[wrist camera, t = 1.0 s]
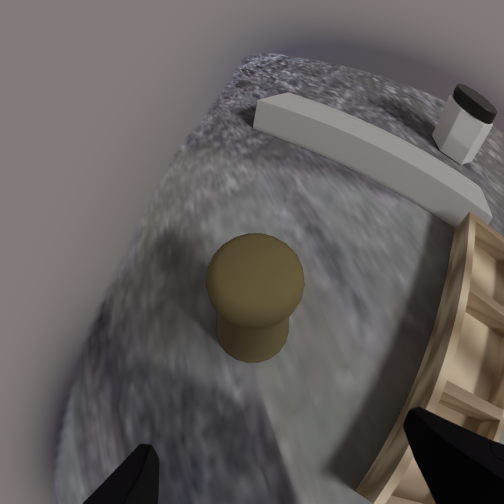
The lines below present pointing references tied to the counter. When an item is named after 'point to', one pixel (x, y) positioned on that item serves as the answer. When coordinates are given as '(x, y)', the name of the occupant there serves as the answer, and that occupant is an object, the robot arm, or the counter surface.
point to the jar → (464, 124)
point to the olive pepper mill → (254, 295)
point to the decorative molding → (373, 155)
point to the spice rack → (453, 363)
